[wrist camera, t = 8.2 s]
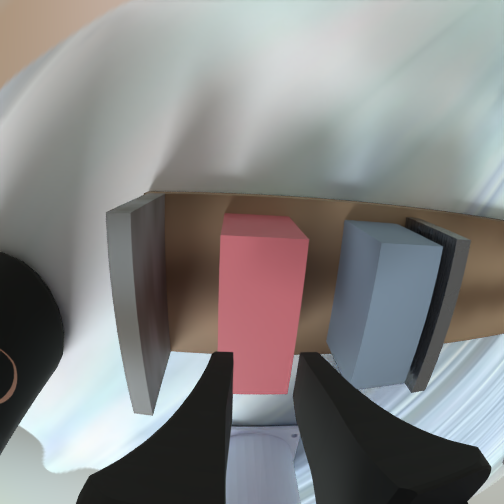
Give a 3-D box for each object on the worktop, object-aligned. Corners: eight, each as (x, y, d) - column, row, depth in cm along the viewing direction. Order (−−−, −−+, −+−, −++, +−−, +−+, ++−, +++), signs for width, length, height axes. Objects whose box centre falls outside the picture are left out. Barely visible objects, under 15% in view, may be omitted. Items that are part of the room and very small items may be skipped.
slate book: (373, 339, 20) (404, 383, 15) (326, 341, 20) (348, 390, 15) (396, 223, 18) (443, 246, 13) (344, 219, 18) (381, 242, 13)
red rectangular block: (276, 342, 20) (287, 394, 15) (220, 340, 19) (217, 393, 15) (288, 216, 17) (309, 239, 13) (224, 212, 17) (220, 235, 12)
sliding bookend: (391, 345, 20) (425, 390, 15) (379, 346, 20) (411, 392, 15) (419, 218, 18) (471, 240, 13) (406, 216, 18) (457, 238, 13)
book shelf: (500, 328, 22) (544, 365, 16) (156, 341, 20) (130, 412, 14) (527, 224, 20) (584, 246, 13) (148, 191, 18) (101, 212, 11)
